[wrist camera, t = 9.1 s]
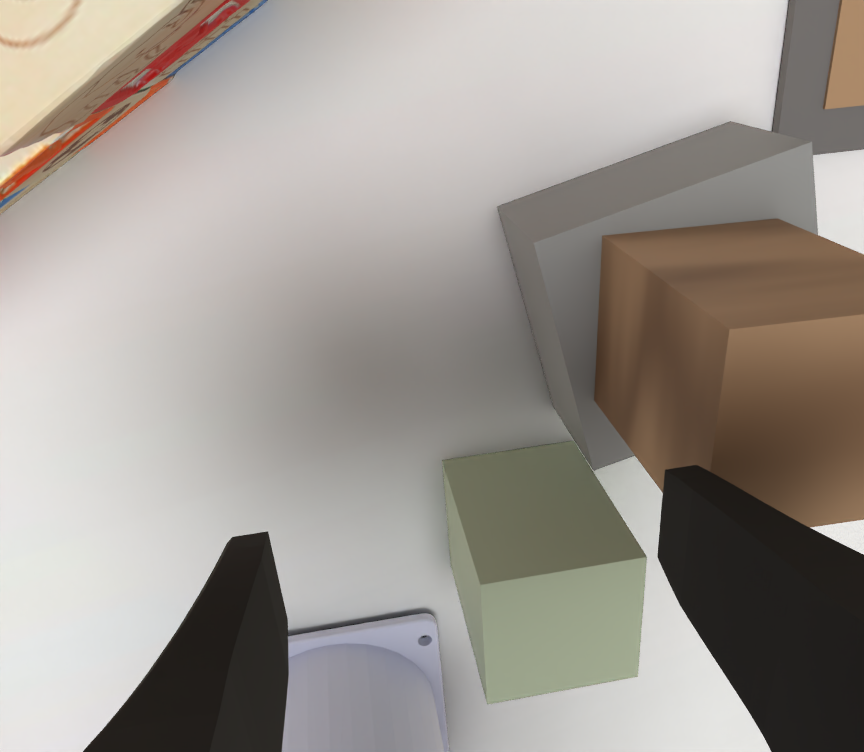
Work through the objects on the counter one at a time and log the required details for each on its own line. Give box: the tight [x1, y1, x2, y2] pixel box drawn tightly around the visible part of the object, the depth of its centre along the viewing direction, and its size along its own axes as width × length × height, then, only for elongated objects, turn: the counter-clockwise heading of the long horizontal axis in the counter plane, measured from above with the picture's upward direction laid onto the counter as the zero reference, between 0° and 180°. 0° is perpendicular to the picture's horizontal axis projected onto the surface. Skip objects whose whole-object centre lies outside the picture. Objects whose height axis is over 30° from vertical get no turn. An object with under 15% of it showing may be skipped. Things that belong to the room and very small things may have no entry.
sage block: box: [442, 441, 647, 704], centre depth 23 cm, size 4×4×6 cm
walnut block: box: [594, 218, 864, 527], centre depth 16 cm, size 4×4×6 cm
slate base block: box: [497, 122, 818, 470], centre depth 21 cm, size 7×7×4 cm
